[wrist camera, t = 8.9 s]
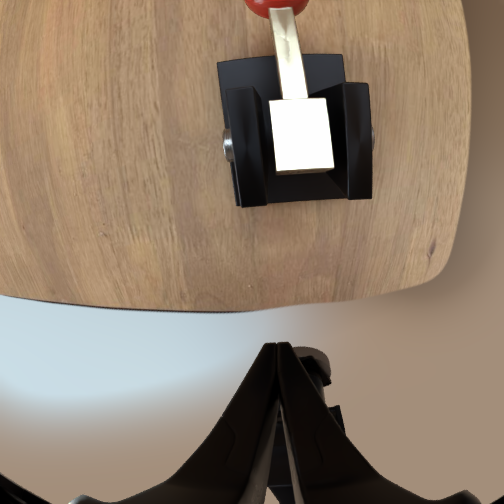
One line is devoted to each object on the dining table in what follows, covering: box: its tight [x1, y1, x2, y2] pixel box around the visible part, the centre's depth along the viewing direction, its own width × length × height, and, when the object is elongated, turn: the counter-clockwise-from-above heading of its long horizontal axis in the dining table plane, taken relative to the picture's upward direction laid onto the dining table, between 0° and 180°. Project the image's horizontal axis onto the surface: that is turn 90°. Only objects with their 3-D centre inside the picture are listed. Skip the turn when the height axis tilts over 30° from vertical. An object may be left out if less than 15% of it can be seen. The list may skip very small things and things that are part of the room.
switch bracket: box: [217, 54, 375, 208], centre depth 14 cm, size 10×8×10 cm
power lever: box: [244, 0, 335, 175], centre depth 10 cm, size 11×3×3 cm, turn 7°
